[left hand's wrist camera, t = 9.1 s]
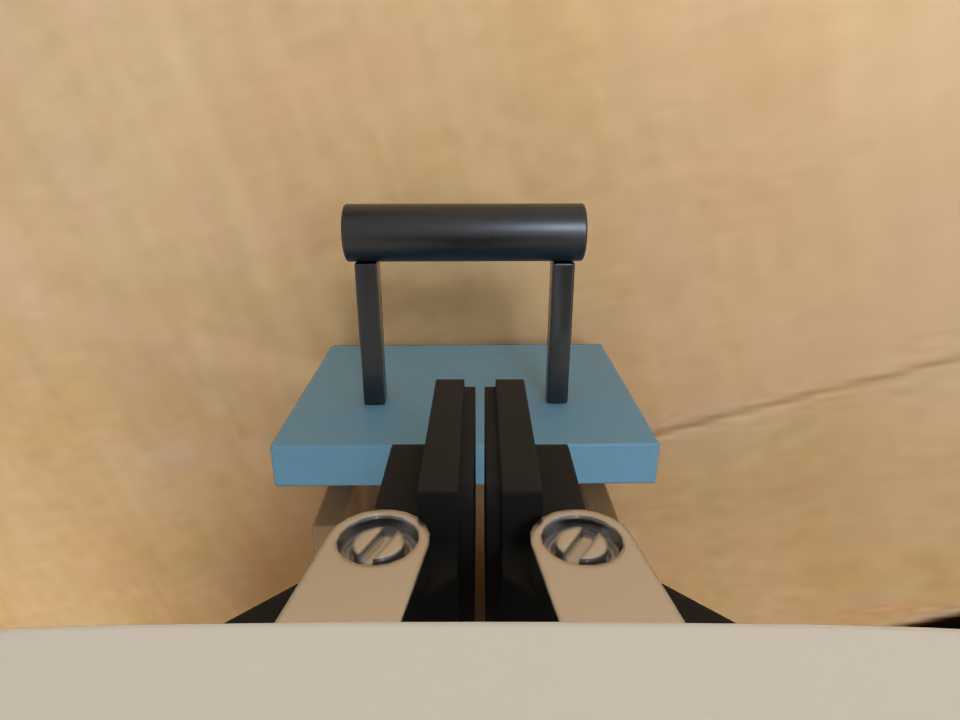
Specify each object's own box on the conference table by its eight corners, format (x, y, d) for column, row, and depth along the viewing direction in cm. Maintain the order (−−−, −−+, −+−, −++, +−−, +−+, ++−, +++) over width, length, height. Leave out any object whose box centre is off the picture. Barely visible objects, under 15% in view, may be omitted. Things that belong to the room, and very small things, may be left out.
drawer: (317, 186, 21) (238, 219, 14) (612, 185, 21) (686, 218, 14) (360, 677, 29) (324, 864, 22) (577, 674, 29) (614, 858, 22)
